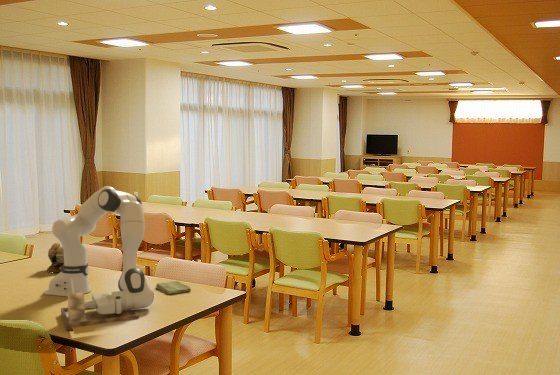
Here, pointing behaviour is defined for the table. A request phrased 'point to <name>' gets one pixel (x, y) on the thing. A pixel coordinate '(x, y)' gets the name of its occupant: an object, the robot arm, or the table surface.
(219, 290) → the table surface
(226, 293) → the table surface
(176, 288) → the washcloth
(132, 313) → the tray
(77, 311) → the maple block
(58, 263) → the owl figurine
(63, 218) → the robot arm
